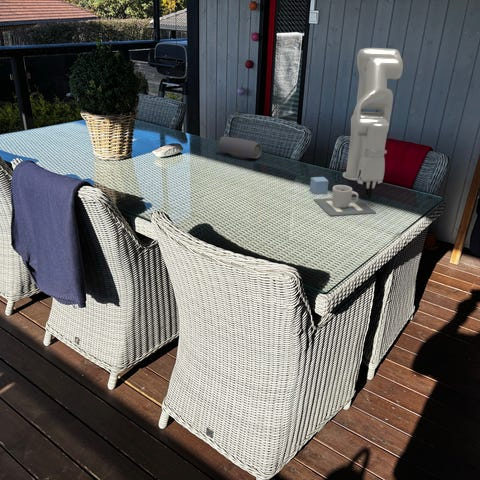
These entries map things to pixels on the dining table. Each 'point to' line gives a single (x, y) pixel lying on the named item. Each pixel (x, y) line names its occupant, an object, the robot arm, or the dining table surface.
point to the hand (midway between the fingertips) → (367, 196)
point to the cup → (343, 196)
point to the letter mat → (351, 209)
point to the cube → (319, 185)
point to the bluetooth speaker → (240, 147)
